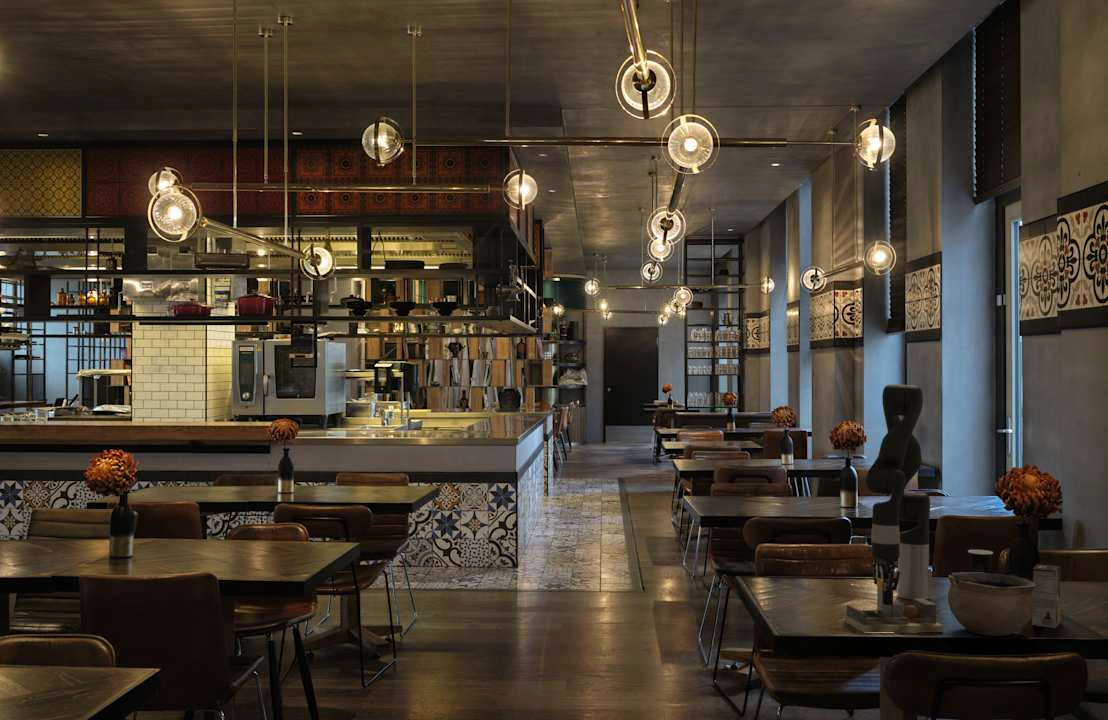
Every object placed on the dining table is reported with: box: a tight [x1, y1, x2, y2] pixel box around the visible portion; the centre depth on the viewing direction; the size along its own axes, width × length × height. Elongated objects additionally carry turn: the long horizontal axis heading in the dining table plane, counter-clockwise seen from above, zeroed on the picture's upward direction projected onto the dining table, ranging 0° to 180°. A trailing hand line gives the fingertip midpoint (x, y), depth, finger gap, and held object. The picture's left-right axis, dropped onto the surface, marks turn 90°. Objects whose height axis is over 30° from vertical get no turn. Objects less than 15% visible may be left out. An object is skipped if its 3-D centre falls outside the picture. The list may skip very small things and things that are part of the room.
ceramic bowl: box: [947, 571, 1035, 637], centre depth 280 cm, size 22×22×15 cm
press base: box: [844, 598, 944, 634], centre depth 286 cm, size 22×14×7 cm, turn 96°
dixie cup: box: [967, 549, 994, 574], centre depth 352 cm, size 8×8×11 cm
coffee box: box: [1031, 563, 1061, 629], centre depth 292 cm, size 9×6×16 cm
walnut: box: [903, 604, 918, 618], centre depth 286 cm, size 4×4×4 cm
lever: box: [874, 577, 904, 618], centre depth 286 cm, size 6×7×11 cm
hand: (885, 603), depth 286 cm, fingers closed on lever, 3 cm apart
